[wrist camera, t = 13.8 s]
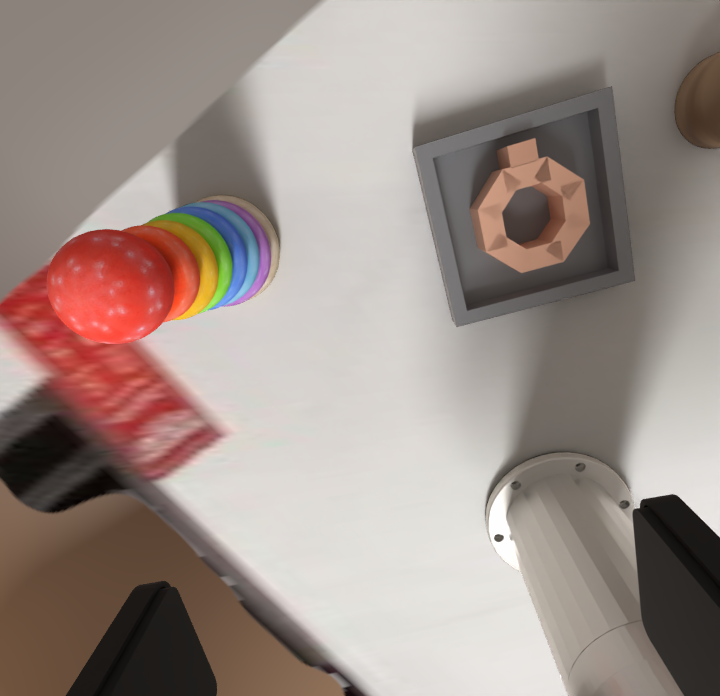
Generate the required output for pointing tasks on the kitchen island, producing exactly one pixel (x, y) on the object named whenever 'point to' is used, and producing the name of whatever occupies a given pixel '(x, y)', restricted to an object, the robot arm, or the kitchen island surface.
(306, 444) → the kitchen island surface
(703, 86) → the rod
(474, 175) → the tray
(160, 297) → the stacking toy
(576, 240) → the ring
